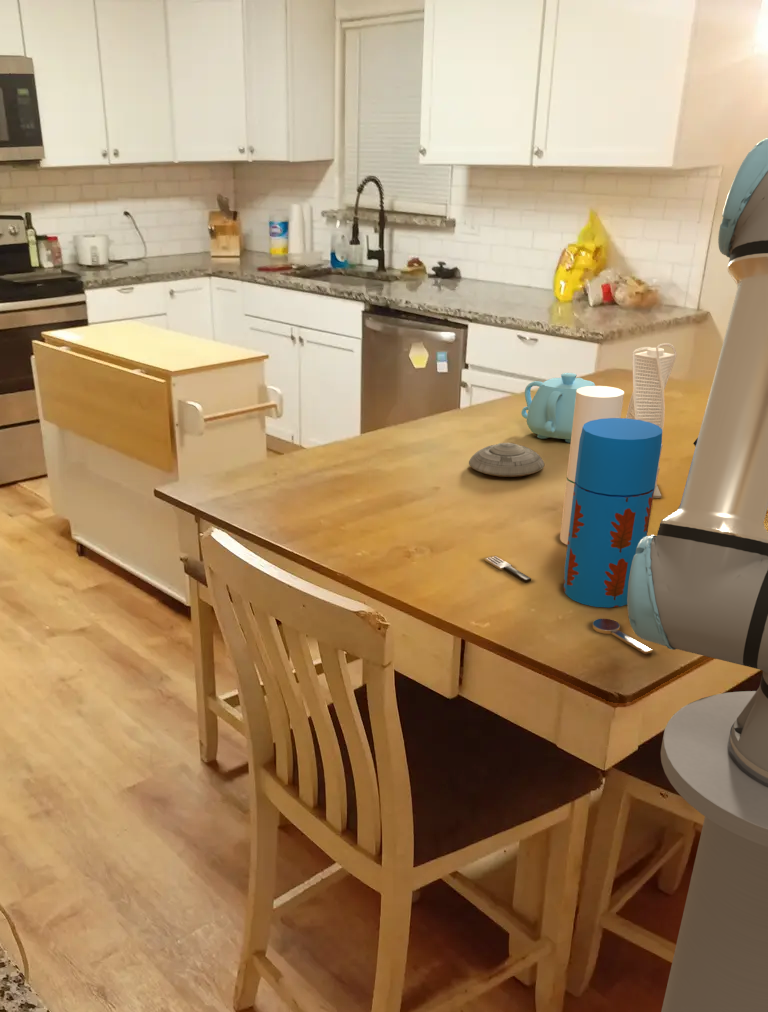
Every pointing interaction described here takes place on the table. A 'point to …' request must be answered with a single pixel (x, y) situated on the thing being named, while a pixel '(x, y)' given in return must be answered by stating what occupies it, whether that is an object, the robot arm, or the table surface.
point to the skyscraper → (650, 388)
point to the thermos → (610, 508)
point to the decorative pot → (553, 406)
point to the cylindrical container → (587, 408)
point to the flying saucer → (506, 460)
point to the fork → (507, 568)
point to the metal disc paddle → (618, 633)
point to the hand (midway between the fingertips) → (700, 449)
